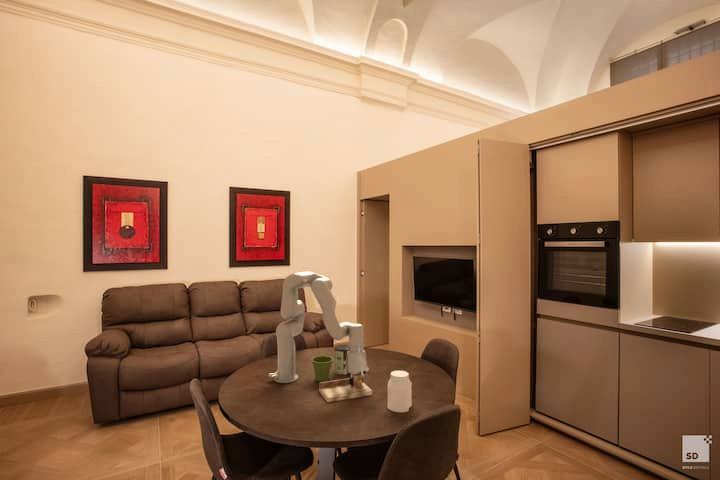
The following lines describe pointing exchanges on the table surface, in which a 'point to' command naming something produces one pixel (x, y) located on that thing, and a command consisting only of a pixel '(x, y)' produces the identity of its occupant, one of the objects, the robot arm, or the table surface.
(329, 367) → the plant pot
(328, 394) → the board
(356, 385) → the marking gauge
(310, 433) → the table surface
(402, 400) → the jar
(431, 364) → the table surface
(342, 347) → the coffee can
